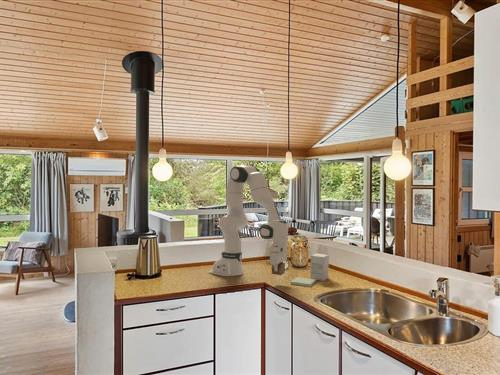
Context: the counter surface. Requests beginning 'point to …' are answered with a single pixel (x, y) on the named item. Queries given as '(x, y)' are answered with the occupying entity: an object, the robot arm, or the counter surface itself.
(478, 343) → the counter surface
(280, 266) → the block
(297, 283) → the plate
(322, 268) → the supplement box
